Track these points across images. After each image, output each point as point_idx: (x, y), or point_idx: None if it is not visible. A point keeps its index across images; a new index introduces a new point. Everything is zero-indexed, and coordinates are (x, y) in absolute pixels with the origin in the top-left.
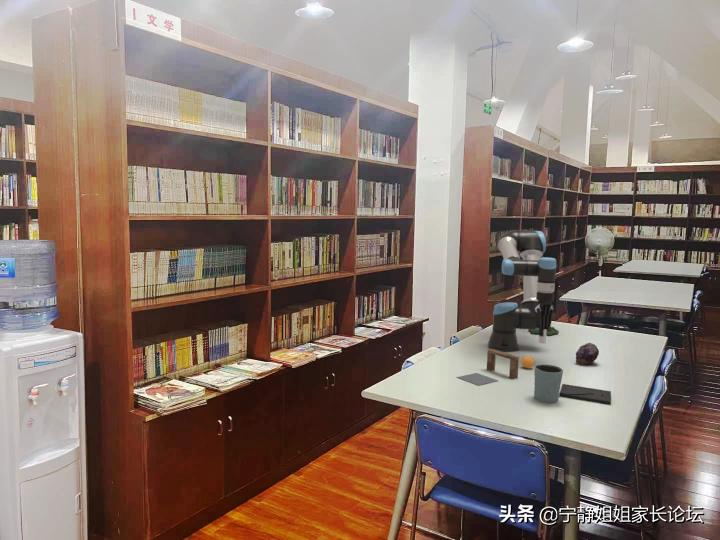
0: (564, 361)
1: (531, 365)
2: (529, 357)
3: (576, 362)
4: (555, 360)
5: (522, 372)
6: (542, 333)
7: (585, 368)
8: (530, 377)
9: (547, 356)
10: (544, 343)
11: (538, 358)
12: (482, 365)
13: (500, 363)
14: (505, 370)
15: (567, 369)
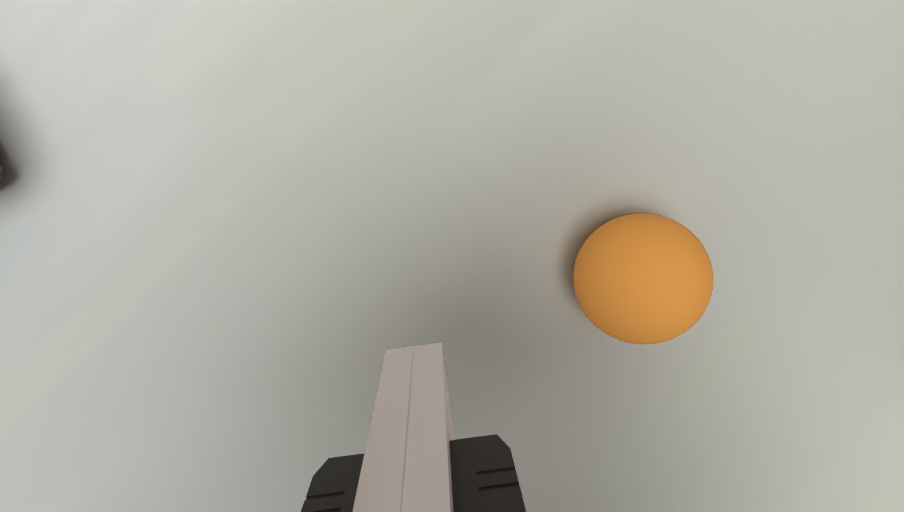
0: (74, 297)
1: (643, 213)
2: (675, 267)
3: (1, 174)
4: (144, 355)
5: (765, 177)
6: (482, 482)
7: (26, 13)
8: (833, 21)
9: (124, 479)
10: (422, 346)
11: (264, 458)
12: (891, 458)
13: (713, 453)
14: (846, 283)
15: (261, 70)
